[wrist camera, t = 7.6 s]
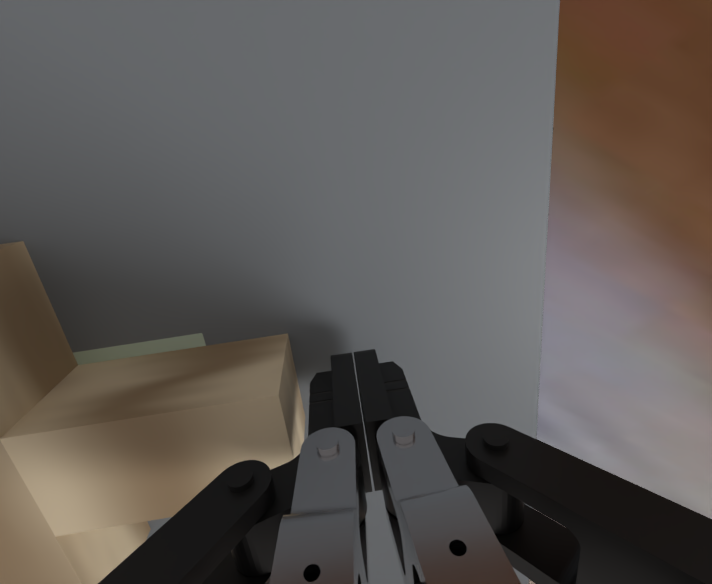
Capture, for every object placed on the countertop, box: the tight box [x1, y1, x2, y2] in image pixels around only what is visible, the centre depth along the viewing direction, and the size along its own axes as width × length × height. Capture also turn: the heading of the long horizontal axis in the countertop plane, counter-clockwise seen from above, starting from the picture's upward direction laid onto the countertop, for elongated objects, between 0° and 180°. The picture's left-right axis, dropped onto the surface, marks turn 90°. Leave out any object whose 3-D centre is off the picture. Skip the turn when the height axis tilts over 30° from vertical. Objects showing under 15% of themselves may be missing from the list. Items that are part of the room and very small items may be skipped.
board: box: [0, 0, 560, 584], centre depth 14 cm, size 24×28×1 cm
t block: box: [0, 241, 305, 584], centre depth 12 cm, size 10×12×4 cm
